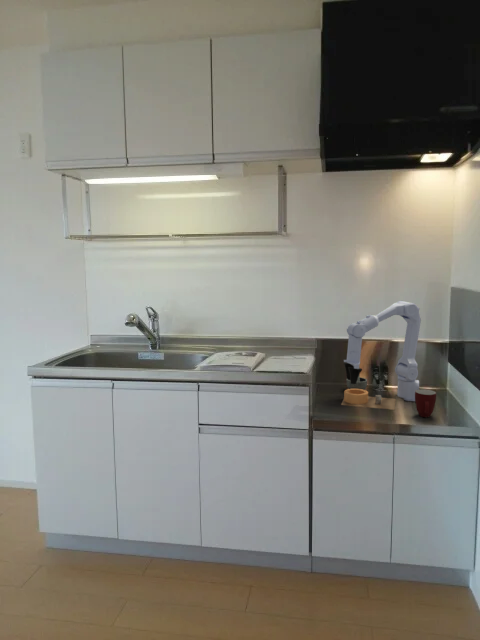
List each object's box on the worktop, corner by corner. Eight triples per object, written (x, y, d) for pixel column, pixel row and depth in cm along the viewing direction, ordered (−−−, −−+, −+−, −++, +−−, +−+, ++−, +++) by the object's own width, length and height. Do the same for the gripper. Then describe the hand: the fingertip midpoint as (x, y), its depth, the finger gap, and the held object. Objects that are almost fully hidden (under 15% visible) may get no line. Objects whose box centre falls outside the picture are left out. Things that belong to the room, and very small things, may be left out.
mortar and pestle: (367, 397, 230) (367, 371, 229) (346, 396, 232) (346, 370, 231) (366, 390, 241) (367, 366, 240) (346, 389, 243) (347, 365, 242)
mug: (439, 421, 198) (440, 396, 196) (418, 421, 198) (419, 396, 197) (432, 412, 208) (433, 389, 207) (412, 412, 209) (413, 389, 207)
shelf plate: (395, 401, 224) (396, 391, 223) (394, 412, 209) (394, 401, 208) (345, 397, 231) (345, 387, 230) (340, 407, 216) (341, 396, 215)
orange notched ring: (368, 398, 225) (368, 389, 224) (366, 404, 215) (366, 395, 215) (345, 396, 228) (346, 387, 227) (343, 402, 219) (343, 393, 218)
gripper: (341, 347, 226) (338, 376, 228) (348, 353, 212) (345, 385, 213) (357, 348, 226) (354, 377, 228) (365, 354, 212) (362, 386, 213)
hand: (351, 381), depth 221 cm, fingers open, 7 cm apart
